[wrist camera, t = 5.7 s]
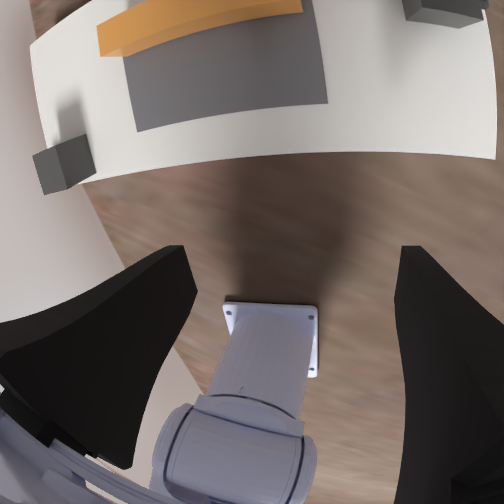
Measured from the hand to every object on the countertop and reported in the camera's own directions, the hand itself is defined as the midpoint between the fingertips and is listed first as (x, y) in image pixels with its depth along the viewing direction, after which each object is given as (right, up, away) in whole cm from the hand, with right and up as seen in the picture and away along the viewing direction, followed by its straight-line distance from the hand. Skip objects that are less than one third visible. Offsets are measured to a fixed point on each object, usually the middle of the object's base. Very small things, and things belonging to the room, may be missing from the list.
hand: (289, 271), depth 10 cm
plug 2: (+7, +13, -1) cm, 15 cm away
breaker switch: (-4, +13, +2) cm, 13 cm away
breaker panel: (-3, +13, +5) cm, 14 cm away
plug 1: (-14, +7, +9) cm, 18 cm away
